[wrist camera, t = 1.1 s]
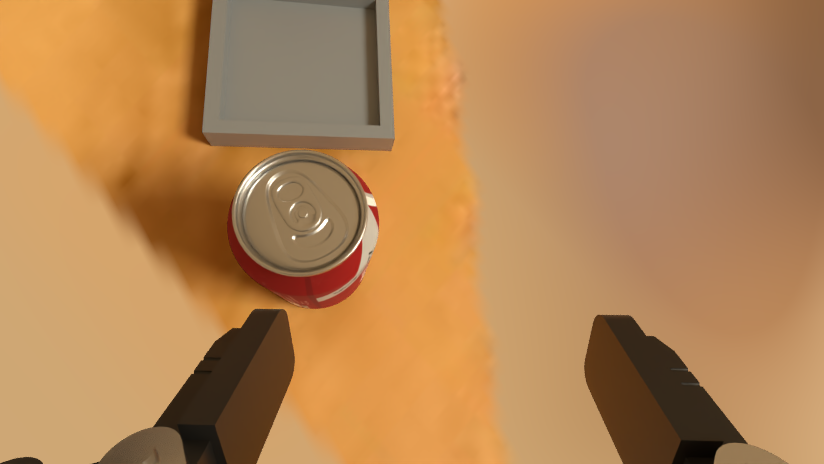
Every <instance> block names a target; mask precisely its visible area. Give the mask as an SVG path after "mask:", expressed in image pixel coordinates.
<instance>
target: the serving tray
mask: <svg viewBox="0 0 824 464" xmlns="http://www.w3.org/2000/svg"><path fill="white" fill-rule="evenodd" d="M202 133H203V134H204V136H205V137H206V139H207V140H208V142H209V143H210V144H211V146H241V147H277V148H313V149H349V150H386V151H391V150H392V146H393V143H394V139H395V137H394V114H393V92H392V69H391V46H390V23H389V0H213V3H212V16H211V28H210V41H209V53H208V65H207V78H206V90H205V103H204V115H203V128H202Z"/></svg>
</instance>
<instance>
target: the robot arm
mask: <svg viewBox="0 0 824 464" xmlns="http://www.w3.org/2000/svg"><path fill="white" fill-rule="evenodd" d="M294 363H295V356H294V350H293V344H292V338H291V333H290V327H289V321H288V316H287V313H286V311H285V310H284V309H255V310H253V311H252V312H251V314H250V315H249V317H248V318H247V320H246V321H245V323H244V324H243V326H242V327H241V328H232V329H231V330H230V331H228V332H227V333H226V334H224V335H223V336H222V337H220V338H219V339H218V340H217V341H215V342H214V344H213V345H212V347H211V348H210V349H209V351H208V352H207V353H206V355H205V356H204V360H203V361H201V362H200V363H199V365H198V366H197V367H196V369H195V370H194V374H191V376H190V377H189V378H188V380H187V381H186V383H185V384H184V385H183V387H182V388H181V389H180V391H179V392H178V393H177V395H176V396H175V398H174V399H173V400H172V402H171V403H170V404H169V406H168V407H167V409H166V410H165V411H164V413H163V414H162V415H161V417H160V418H159V420H158V421H157V422H156V424H155V425H154V426H153V427H152V428H148V429H144V430H141V431H139V432H136V433H134V434H132V435H130V436H128V437H127V438H125V439H123V440H122V441H120V442H119V443H118V444H116V445H115V446H114V447H113V448H112V449H111V450H110V451H108V453H106V455H105V456H104V457H103V458H102V459H101V461H100V462H97V463H93V464H256V463H257V461H258V458H259V456H260V453H261V451H262V448H263V446H264V444H265V441H266V439H267V436H268V434H269V432H270V429H271V427H272V425H273V422H274V420H275V417H276V415H277V413H278V410H279V408H280V405H281V403H282V401H283V398H284V396H285V393H286V391H287V389H288V386H289V384H290V381H291V379H292V376H293V371H294ZM584 369H585V378H586V382H587V385H588V388H589V390H590V392H591V394H592V397H593V399H594V401H595V403H596V405H597V408H598V410H599V412H600V414H601V416H602V418H603V421H604V423H605V425H606V427H607V429H608V432H609V434H610V436H611V438H612V440H613V442H614V445H615V447H616V449H617V451H618V453H619V455H620V458H621V459H622V462H623V464H788V463H787V462H785V461H784V460H782V459H781V458H779V457H777V456H776V455H774V454H772V453H770V452H768V451H766V450H763V449H761V448H758V447H756V446H752V445H749V444H747V442H746V441H745V440H744V438H743V437H742V436H741V435H740V433H739V432H738V431H737V430H736V428H735V427H734V426H733V425H732V423H731V422H730V421H729V420H728V418H727V417H726V416H725V414H724V413H723V412H722V411H721V410H720V408H719V407H718V406H717V405H716V403H715V402H714V401H713V399H712V398H711V397H710V396H709V394H708V393H707V392H706V391H705V389H704V388H703V387H700V385H699V382H698V380H697V379H696V378H695V377H694V375H693V374H692V373H691V372H688V368H687V367H686V365H685V364H684V363H683V362H682V360H681V359H680V358H679V356H678V355H677V354H676V353H675V351H673V350H672V349H671V348H669V347H668V346H666V345H665V344H664V343H662V342H661V341H659V340H658V339H657V338H656V337H654V336H646V335H645V334H644V332H643V331H642V330H641V328H640V327H639V325H638V324H637V323H636V321H635V320H634V319H633V318H632V317H631V316H629V315H597V316H596V317H595V319H594V322H593V326H592V331H591V335H590V340H589V344H588V349H587V354H586V358H585V365H584ZM0 464H43V463H42V462H41V461H40V460H38V459H36V458H32V457H23V458H16V459H12V460H9V461H6V462H3V463H0Z"/></svg>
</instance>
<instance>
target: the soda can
mask: <svg viewBox="0 0 824 464" xmlns="http://www.w3.org/2000/svg"><path fill="white" fill-rule="evenodd" d="M227 231H228V239H229V243H230V246H231V249H232V252H233V254H234V256H235V258H236V260H237V262H238V263H239V265H240V266H241V267H242V269H243V270H244V271H245V272H246V273H247V274H248V275H249V276H250V277H251V278H252V279H253V280H255V281H256V282H257V283H259V284H260V285H262V286H263V287H265V288H267V289H268V290H270V291H272V292H273V293H275V294H277V295H278V296H280V297H282V298H283V299H285V300H287V301H288V302H290V303H292V304H294V305H297V306H300V307H303V308H310V309H320V308H326V307H330V306H333V305H336V304H338V303H340V302H342V301H343V300H345V299H346V298H348V297H349V296H350V295H351V294H352V293H353V292H354V291H355V290H356V289H357V287H358V286H359V284H360V283H361V281H362V279H363V276H364V274H365V271H366V269H367V266H368V264H369V261H370V259H371V256H372V254H373V251H374V248H375V245H376V242H377V238H378V232H379V217H378V210H377V206H376V203H375V200H374V198H373V195H372V193H371V192H370V190H369V188H368V187H367V185H366V184H365V182H364V181H363V180H362V179H361V178H360V177H359V176H358V175H357V174H356V173H355V172H354V171H353V170H351V169H350V168H349V167H347V166H346V165H344V164H343V163H342V162H340V161H339V160H337V159H335V158H333V157H331V156H329V155H327V154H324V153H321V152H316V151H311V150H291V151H285V152H281V153H278V154H275V155H273V156H270V157H268V158H266V159H264V160H263V161H261V162H260V163H258V164H257V165H256V166H255V167H253V168H252V169H251V170H250V171H249V172H248V173H247V175H246V176H245V177H244V178H243V180H242V181H241V183H240V185H239V187H238V189H237V191H236V193H235V196H234V198H233V200H232V203H231V206H230V209H229V214H228V221H227Z"/></svg>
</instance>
